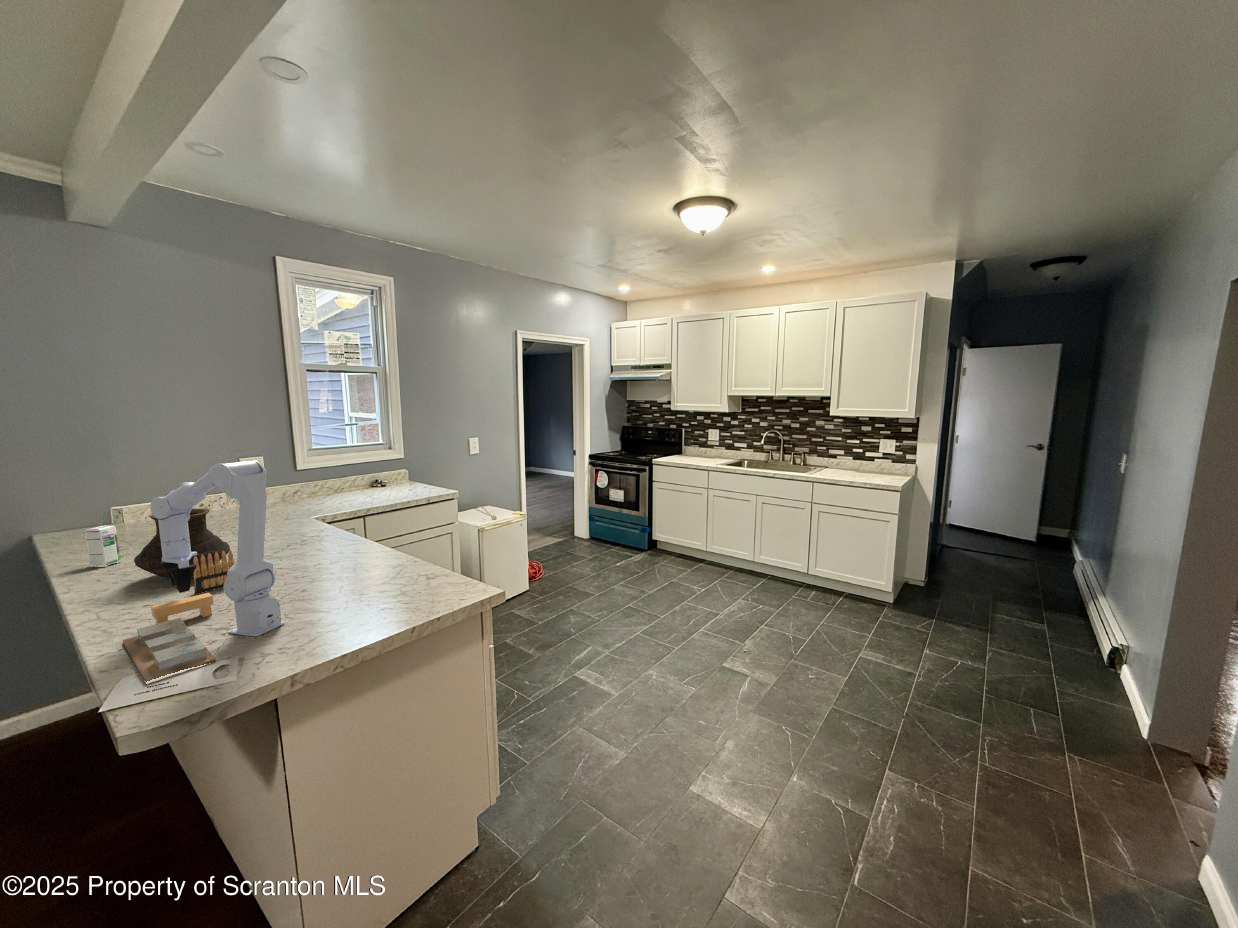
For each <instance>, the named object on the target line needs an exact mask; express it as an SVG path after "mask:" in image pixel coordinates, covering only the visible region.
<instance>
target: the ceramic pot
mask: <svg viewBox="0 0 1238 928" xmlns="http://www.w3.org/2000/svg"><path fill="white" fill-rule="evenodd" d="M210 511H211V510H210V509H209V508H206V507H205V508H192V510H191V512H190V519H189V520H188V529H189V538H190V547H191V552H197V555H195V556H196V557H197V559H198V563H199V567H200V568H201V555H202V554H203V555H204V557H205V561H206V566H207V570H208V554H209V553H210V554H211V556H212V560H213V565H215V553H216V552H217V553H218V555H219V560H220V561H222V551H223V550H224V552H225V554H226V556H228V553H229V549H231V547H230V545H229V543H228V542H227V541H224V540H222V539H221V537H219V536H218V535H217V534H216V535H215V534H214V533H213V532H212V531H211V530H209V529H208V528H207V515H208V513H209V512H210ZM148 518H150V519H152V520H153V521H154V522H155V528H156V533H155V535H154V536H153V537H152V538H151V540H150V541H149V542H148V543H147V544H146V545H145V546H144V547H143V549H142V550H140V552H139V553H138V554H137V555H136V556H135V557H134V559H133V563H134V564H135V566H136V567H137V568H139V569H141V570H143V571H144V572H148V573H150V574H153V575H155V576H158V577H162V578H165V579H166V580H170V579H169V576H168V574H167V572H166V570H165V569H164V567H163V566H162V565H161V564H160V563H161V562H163V561H162V557H163V556H162V548H161V539H160V531H159V523H158V519H157V518H156V517H154V515H153V514H151V515H148ZM193 561H194V556H192V557H191V558H190V560H189V565H193V564H194V563H193ZM200 572H201V569H200ZM193 576H194V573H193ZM193 576H192V578H194V577H193Z"/></svg>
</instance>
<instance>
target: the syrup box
mask: <svg viewBox="0 0 1238 928" xmlns="http://www.w3.org/2000/svg"><path fill="white" fill-rule="evenodd" d="M84 534H85V542H86V548H87V552H88V553H87V554H88V561H89V565H108V564H111V563H115V562H117V561H119V560H121V554H120V547H119V540H118V533H117V527H116V525H100V526H96V527H92V528H88V529H84ZM121 561H122V560H121Z"/></svg>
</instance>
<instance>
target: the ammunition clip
mask: <svg viewBox="0 0 1238 928" xmlns="http://www.w3.org/2000/svg"><path fill="white" fill-rule="evenodd" d="M227 556H228V557H227ZM193 563H194V564H196V565H197V567H196V569H195V571H194V577H193V587H194V594H195V595H200V594H203V593H202V592H204V593H206V592H205V591H208V592H211V591H210V590H212V591H214V590H213V589H216V590H219V589H218V588H220V589H223V588H222V587H224V582H225V580H226V578H227V571H228V570H229V569H230V568H231V567H232V566H233V565H234V564H235V563H236V561H235V560H234V554H233V551H232V548H230V549H229V553H228V554H227V555H226V554H225V552H224V550H223V551H222V559H221V560H219V555H218V553H217V552H216V553H215V565H213V560H212V556H211V554H210V553H209V554H208V570H207V566H206V561H205V557H204V555H203V554H202V555H201V568H200V567H199V563H198V559H197V557H196V556H194V561H193ZM200 569H201V572H200ZM199 593H200V594H199Z"/></svg>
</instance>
